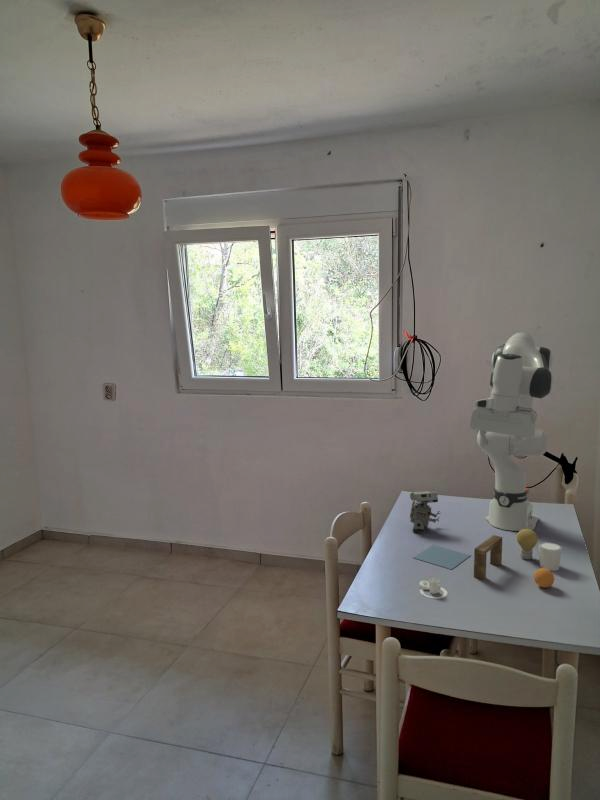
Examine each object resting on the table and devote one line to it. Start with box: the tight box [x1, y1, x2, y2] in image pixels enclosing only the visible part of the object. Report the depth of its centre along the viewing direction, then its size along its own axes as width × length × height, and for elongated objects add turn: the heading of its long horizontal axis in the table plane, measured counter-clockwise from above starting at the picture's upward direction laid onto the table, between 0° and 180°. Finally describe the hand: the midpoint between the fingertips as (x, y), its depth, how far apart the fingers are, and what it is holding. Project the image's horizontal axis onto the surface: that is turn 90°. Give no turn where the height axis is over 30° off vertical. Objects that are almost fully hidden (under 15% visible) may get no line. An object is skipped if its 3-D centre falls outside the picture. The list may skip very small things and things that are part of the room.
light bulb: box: [516, 529, 538, 561], centre depth 180 cm, size 6×6×10 cm
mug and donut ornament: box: [419, 577, 449, 600], centre depth 159 cm, size 9×8×4 cm
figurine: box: [409, 490, 441, 534], centre depth 207 cm, size 9×12×15 cm
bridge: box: [473, 534, 503, 581], centre depth 171 cm, size 3×14×9 cm, turn 138°
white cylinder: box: [538, 541, 563, 572], centre depth 173 cm, size 7×7×7 cm
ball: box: [533, 567, 555, 589], centre depth 160 cm, size 6×6×6 cm
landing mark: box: [413, 544, 471, 571], centre depth 182 cm, size 14×14×1 cm
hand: (498, 447), depth 172 cm, fingers open, 8 cm apart
